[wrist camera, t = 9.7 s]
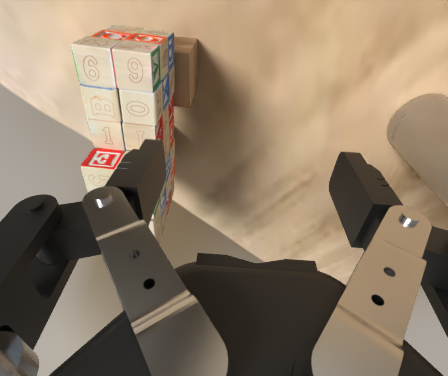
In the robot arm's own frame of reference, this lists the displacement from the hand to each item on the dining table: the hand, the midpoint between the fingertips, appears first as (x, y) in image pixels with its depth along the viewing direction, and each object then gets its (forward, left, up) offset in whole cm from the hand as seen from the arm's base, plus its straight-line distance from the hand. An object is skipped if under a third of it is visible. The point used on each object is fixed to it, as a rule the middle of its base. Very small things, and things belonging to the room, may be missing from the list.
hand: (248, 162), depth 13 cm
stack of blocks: (+11, +9, -21) cm, 25 cm away
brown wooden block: (+9, +3, -29) cm, 30 cm away
